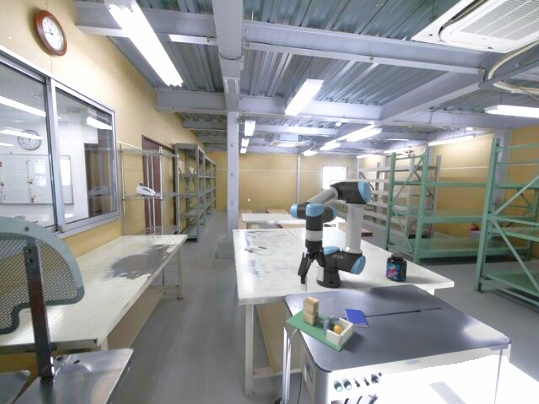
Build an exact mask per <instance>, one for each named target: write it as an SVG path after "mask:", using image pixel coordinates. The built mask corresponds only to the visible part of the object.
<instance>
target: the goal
mask: <svg viewBox="0 0 539 404" xmlns="http://www.w3.org/2000/svg"><path fill="white" fill-rule="evenodd" d="M338 323H339V326H341V327H342V329H343V330H344V331H343V332H342V333H341V334H340V335H338V334H336V333H334V332H332V331H330V330H327V333H326V340H328V341H329V342H331V343H333V344H335V345H337V346H339V347H341V346H342V345H343V344H344V342H345V341H346V340H347V339H348V338H349V337H350V336H351V335H352V333H353V330H354V327H355V326H354V324H353V323H351V322H348V321H347V319H343V318H341V317H339V318H338Z"/></svg>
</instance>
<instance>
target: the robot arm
mask: <svg viewBox="0 0 539 404" xmlns="http://www.w3.org/2000/svg"><path fill="white" fill-rule="evenodd" d="M371 199H372V189H371V186H370V184H369V183H368V182H366V181H344V180H343V181H337V182H335V183H332V184H330V185H327V186H326V187H325V188H324V189H323V191H321V192H320V193H317V194H316V195H315V196H313V197H311V198H309V199H308V200H305V201H304V202H302V203H293V204H292V205H291V207H290V210H289V211H290V216H291V217H292V218H293V219H297V220H303V221H305V237H304V238H305V239H304V240H305V241H304V247H305V248H306V249H307V250H306V252H305V251H303V252H302V255H301V260H300V263H299V267H298V271H297V276H299V277H300V290H301V291H303V292H305V293H307V291H308V276H307V275H308V272H309V269H310V268H311V265H312V263H314V261H315V260H316V263H317V265H318V266H317V275H316V283H317V284H318V285H319V286H321V287H324V288H329V289H336V288H339V287H341V286H342V285H341V284H342V280H341V275H340V271H341V272H345V273H348V274H350V275H357V276H358V275H361V274H362V273H363V271H364V269H365V266H366V262H367V258H366V256H365V255H363V252H364V251H363V250H362V249H361V243H362V234H363V233H362V231H363V219H364V209H365V207H367V205H368V203H371ZM335 201H345V205H346V206H347V215H346V218H347V219H346V228H345V229H346V230H345V243H344V247H342V249H340V247H339V246H337V245H336V246H333V245H331V246H330V245H329V246H323V242H324V241H323V238H324V237H323V236H324V224H326V223H331V222H333V221H334V220H335V219H336V218H337V215H338V214H337V213H338V212H337V210H336V208H335V207H334V206H332V205H328V204H329V203H333V202H335Z"/></svg>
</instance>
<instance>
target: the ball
mask: <svg viewBox="0 0 539 404" xmlns="http://www.w3.org/2000/svg"><path fill="white" fill-rule="evenodd" d="M333 332H334V333H336V334H338V335H340V334H341V333H342V332H343V329H342V327H341V326H339V325H335V326H334V327H333Z"/></svg>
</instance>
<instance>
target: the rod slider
mask: <svg viewBox="0 0 539 404" xmlns="http://www.w3.org/2000/svg"><path fill="white" fill-rule="evenodd" d="M319 305H320V300H319V299H316V298H314V297H311V296H308V297H307V298H305V299H303V305H302V307H303V308H302V310H303V321H305V322H307V323H309V324H311V325H313V324H314V323H316V322H317V321H318V322H320V323H323V324H324V327H323V333H325V334H326V333H327V330H331V329H333V327H334V326H335V322H336V321H335V320H336V315H334V314H330V315H329V316H328V317H326V318H327V319H326V320H324V319H322V318H320V317H318V314H319V311H320V310H319V309H320V306H319Z"/></svg>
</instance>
